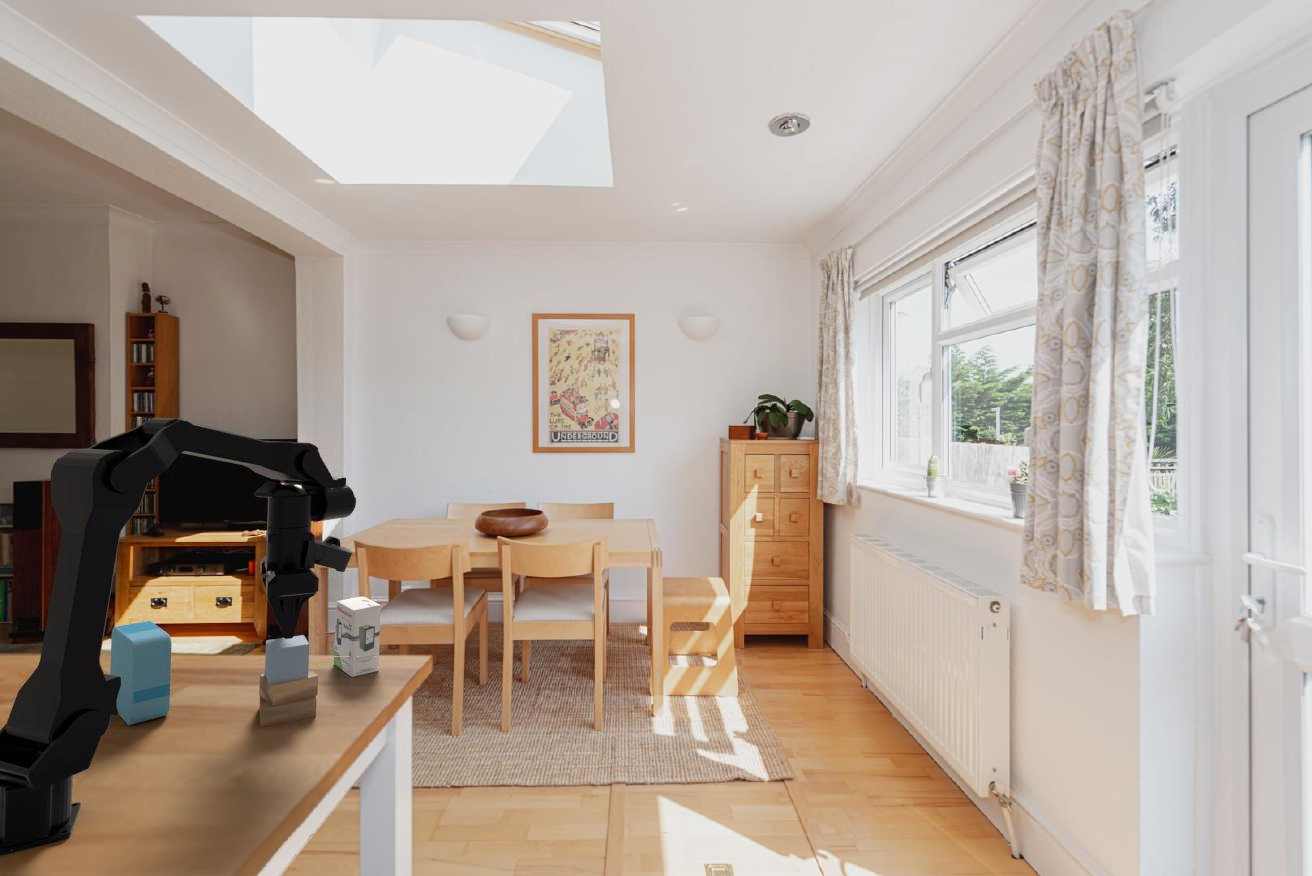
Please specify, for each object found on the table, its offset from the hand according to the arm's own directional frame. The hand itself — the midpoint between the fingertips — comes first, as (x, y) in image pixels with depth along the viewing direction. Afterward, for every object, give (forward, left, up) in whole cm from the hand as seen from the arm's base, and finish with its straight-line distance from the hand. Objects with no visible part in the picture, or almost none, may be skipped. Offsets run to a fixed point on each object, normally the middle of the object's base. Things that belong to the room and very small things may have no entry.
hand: (286, 629), depth 94 cm
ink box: (+14, -12, -13) cm, 23 cm away
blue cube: (0, 0, -7) cm, 7 cm away
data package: (+11, +18, -13) cm, 24 cm away
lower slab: (0, -1, -13) cm, 13 cm away
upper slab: (0, -1, -10) cm, 10 cm away
